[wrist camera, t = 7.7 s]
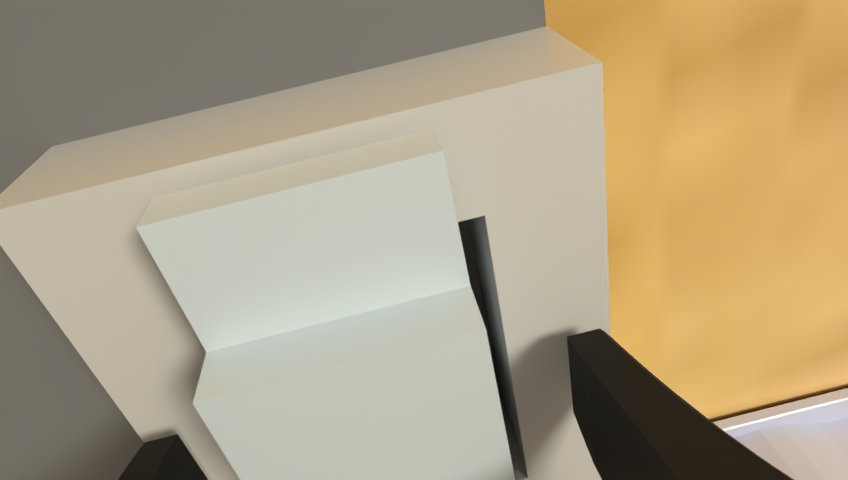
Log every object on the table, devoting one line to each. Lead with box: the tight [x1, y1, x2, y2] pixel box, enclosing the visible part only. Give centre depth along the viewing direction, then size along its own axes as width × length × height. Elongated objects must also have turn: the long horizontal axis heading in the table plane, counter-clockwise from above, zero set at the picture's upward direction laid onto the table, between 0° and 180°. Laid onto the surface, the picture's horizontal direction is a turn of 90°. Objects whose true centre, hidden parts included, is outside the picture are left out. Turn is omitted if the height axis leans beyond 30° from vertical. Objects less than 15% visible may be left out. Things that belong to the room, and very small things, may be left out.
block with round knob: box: [136, 128, 515, 480], centre depth 11 cm, size 4×10×5 cm, turn 12°
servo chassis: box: [0, 0, 610, 480], centre depth 12 cm, size 20×16×4 cm
